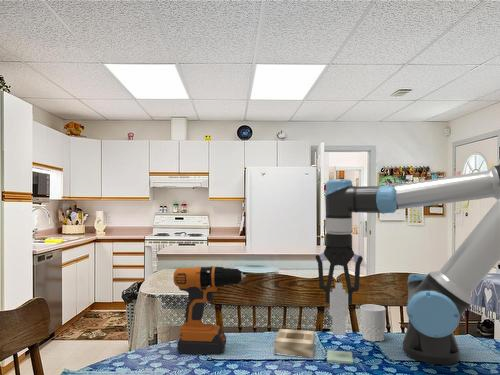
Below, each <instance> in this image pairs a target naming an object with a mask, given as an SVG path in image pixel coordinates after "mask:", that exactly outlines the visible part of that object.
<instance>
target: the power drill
mask: <svg viewBox="0 0 500 375" xmlns="http://www.w3.org/2000/svg"><path fill="white" fill-rule="evenodd" d="M246 277H247V276H246V275H245V274H243V271H241V270H240V269H239V268H230V267H225V268H224V266H214V265H213V266H211V265H210V266H198V267H180V268H176V269H175V271H174V273H173V284H174V286H176V287H178V290H179V291H183V292H186V293H187V294H188V299H187V301H186V305H185V306H186V307H185V312H184V316H185V317H184V318H185V320H184V321H185V322H184V323H183V324H182V325H181V327H180V329H179V333H180V334H179V340H178V341H177V351H178V352H179V353H180V354H186V355H187V354H190V355H211V354H218V355H219V354H222V353H223V352H224V351H225V347H226V344H227V336H226V334H225V332H224V331H223V329H222V328H221V326H220V325H219V324H218V325H217V324H213V323H203V322H202V319H203V316H204V312H205V303H209V302H210V301H212V302H213V301H214V297H213V294H215V293H216V292H217V291H218V288H219V287H224V286H230V285H238V284H240V283H242V281H243V280H244V278H246Z"/></svg>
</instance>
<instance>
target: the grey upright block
mask: <svg viewBox="0 0 500 375" xmlns="http://www.w3.org/2000/svg"><path fill="white" fill-rule="evenodd" d="M334 284H335V286H334V288H332V290H331V291H332V316H331V317H332V321H331V322H332V327H331V328H332V329H331V330H332V335H336V336H337V335H339V336H347V335H346V334H347V332H346V331H347V328H346V326H347V323H346V318H347V317H346V292H345V291H346V289H345V288H344V287H343V283H342V282H334Z"/></svg>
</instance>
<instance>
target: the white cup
mask: <svg viewBox="0 0 500 375" xmlns="http://www.w3.org/2000/svg"><path fill="white" fill-rule="evenodd" d="M359 307H360V321H361V324H360V325H361V332H362V339H364V340H365V341H367V342H373V343H374V342H375V341H380V342H382V341H381V340H383V339H384V340H385V331H386V309H387V308H386V307H385V306H383V305H380V304H379V305H378V304H371V303H370V304H362V305H360V306H359ZM384 340H383V341H384ZM375 343H376V342H375Z"/></svg>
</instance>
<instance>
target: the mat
mask: <svg viewBox="0 0 500 375" xmlns="http://www.w3.org/2000/svg"><path fill="white" fill-rule="evenodd" d="M326 362H327V363H336V364H348V365H354V359H353V352H352V351H343V350H332V349H327V352H326Z"/></svg>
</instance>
